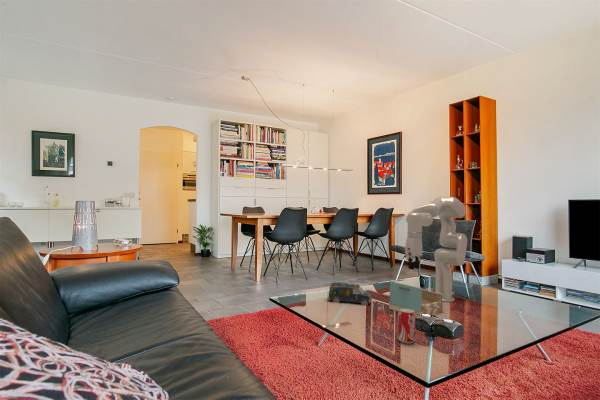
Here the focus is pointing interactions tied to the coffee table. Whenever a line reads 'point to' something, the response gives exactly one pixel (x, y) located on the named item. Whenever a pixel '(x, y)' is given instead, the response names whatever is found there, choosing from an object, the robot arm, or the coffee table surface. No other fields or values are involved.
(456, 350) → the coffee table surface
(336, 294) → the toy van
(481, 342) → the coffee table surface
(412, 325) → the soda can
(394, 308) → the trailer bed
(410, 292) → the panel
